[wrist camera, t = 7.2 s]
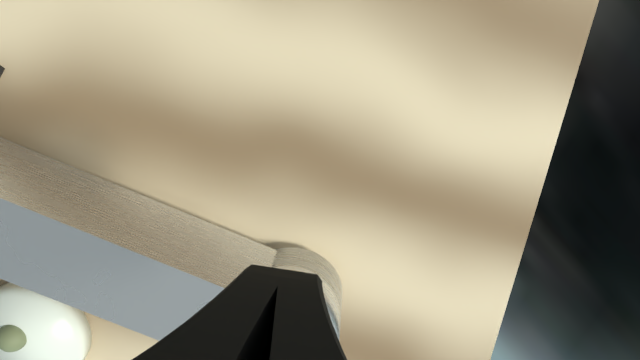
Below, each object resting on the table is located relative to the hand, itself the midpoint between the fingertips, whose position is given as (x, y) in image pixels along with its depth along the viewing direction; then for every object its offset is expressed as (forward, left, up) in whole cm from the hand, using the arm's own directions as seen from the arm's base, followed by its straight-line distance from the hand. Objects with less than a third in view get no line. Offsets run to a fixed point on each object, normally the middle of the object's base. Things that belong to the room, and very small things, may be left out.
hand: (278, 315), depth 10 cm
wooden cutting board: (0, +3, -9) cm, 10 cm away
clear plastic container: (-3, +5, -7) cm, 9 cm away
